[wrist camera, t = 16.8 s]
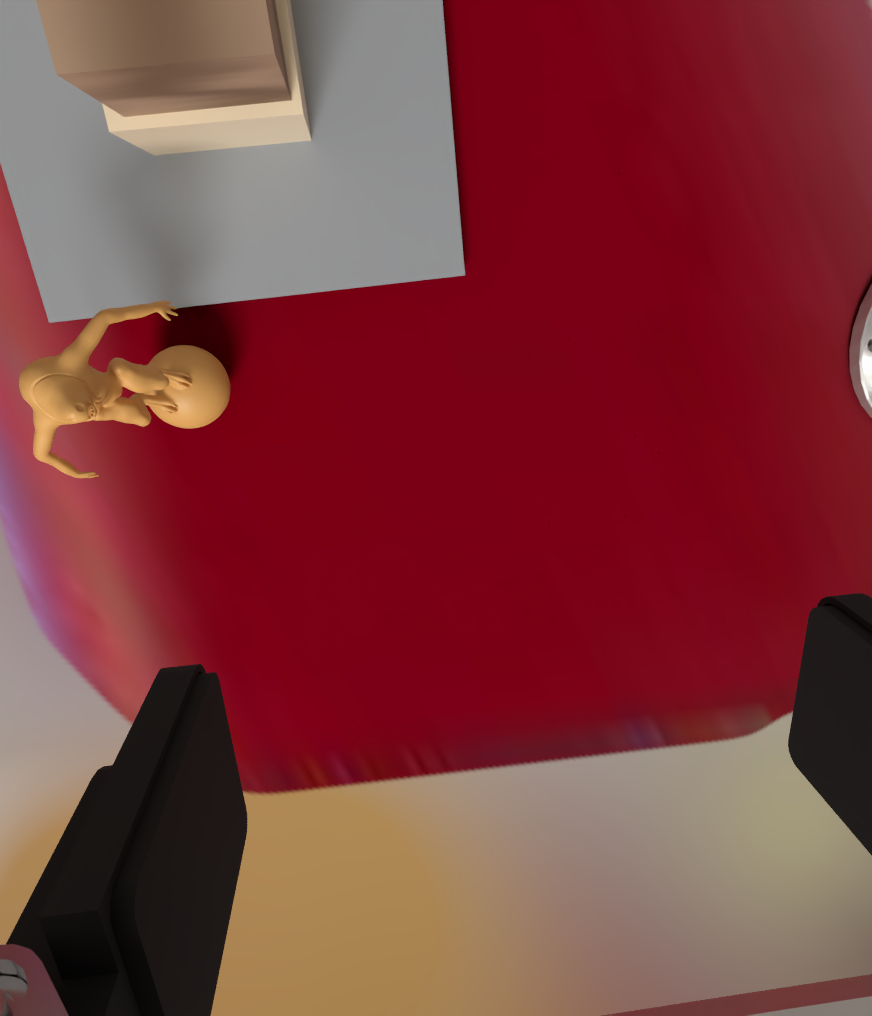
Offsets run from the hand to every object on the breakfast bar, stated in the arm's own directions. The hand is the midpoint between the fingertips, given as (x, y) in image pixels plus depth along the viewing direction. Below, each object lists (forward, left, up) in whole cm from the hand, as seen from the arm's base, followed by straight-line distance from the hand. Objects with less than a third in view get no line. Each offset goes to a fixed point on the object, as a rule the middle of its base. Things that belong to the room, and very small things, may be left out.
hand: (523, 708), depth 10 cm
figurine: (+11, -2, -27) cm, 30 cm away
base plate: (+6, -15, -27) cm, 32 cm away
